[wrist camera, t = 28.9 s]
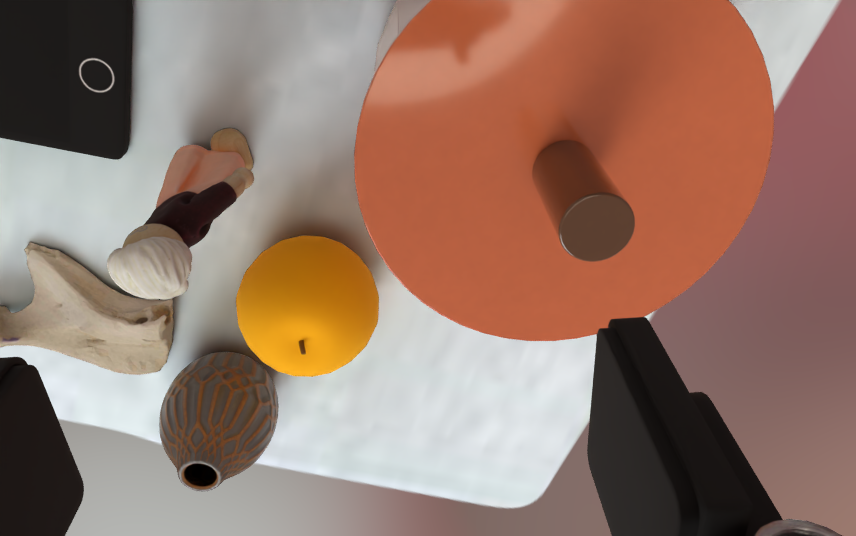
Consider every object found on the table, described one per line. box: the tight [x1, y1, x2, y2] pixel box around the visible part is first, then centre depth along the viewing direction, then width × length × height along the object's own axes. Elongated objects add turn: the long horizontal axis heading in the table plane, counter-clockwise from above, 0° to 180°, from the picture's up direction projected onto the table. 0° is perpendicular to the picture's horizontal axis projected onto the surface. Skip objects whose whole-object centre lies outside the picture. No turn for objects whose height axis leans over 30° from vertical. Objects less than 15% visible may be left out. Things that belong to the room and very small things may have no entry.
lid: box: [354, 0, 774, 341], centre depth 24 cm, size 16×16×6 cm
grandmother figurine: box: [107, 128, 254, 300], centre depth 34 cm, size 8×4×13 cm, turn 134°
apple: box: [236, 236, 379, 377], centre depth 39 cm, size 8×8×8 cm
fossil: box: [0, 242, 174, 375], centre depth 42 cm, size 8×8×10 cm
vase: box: [159, 352, 278, 491], centre depth 42 cm, size 7×7×9 cm
